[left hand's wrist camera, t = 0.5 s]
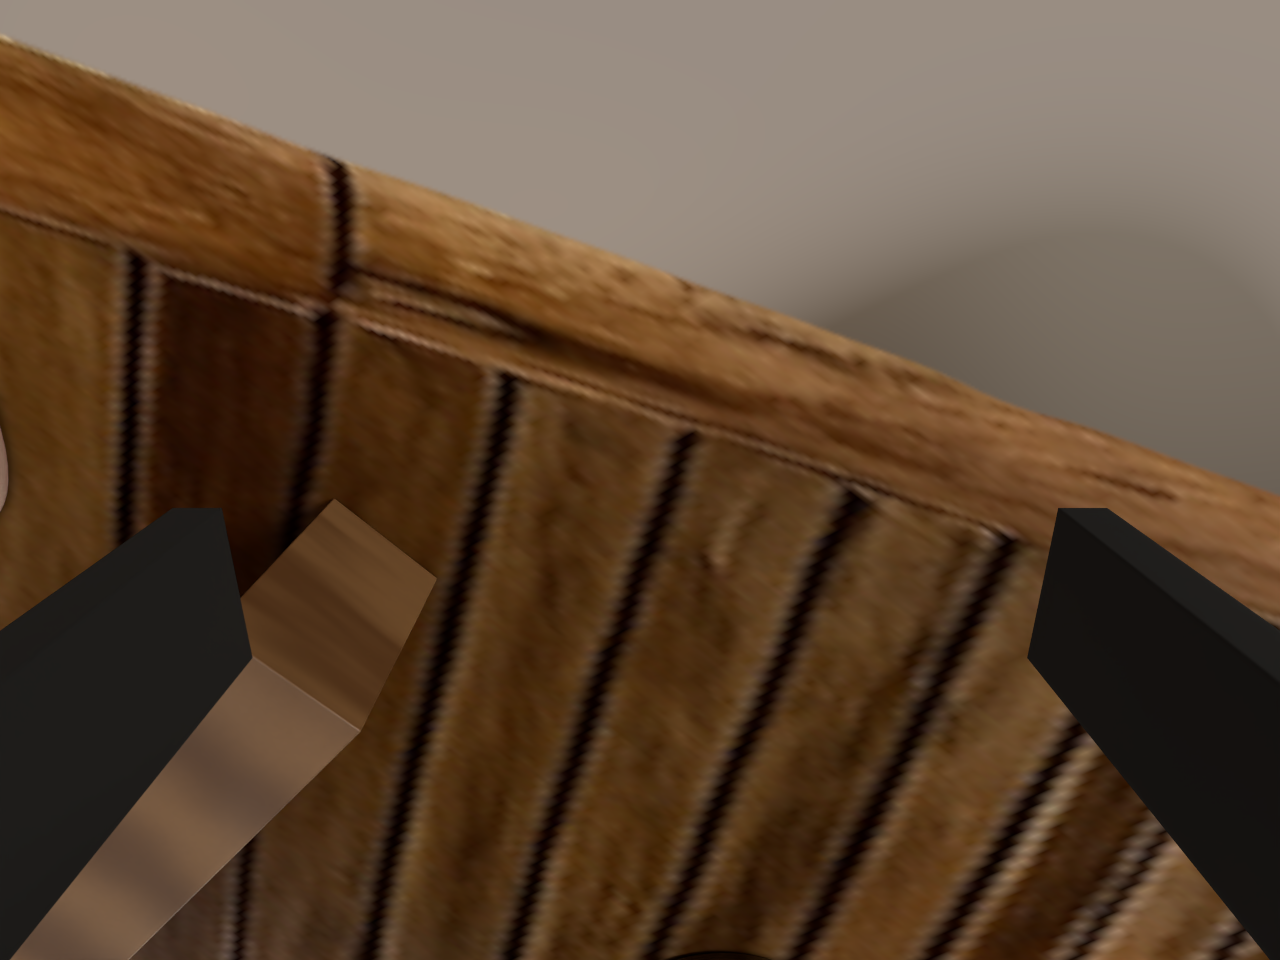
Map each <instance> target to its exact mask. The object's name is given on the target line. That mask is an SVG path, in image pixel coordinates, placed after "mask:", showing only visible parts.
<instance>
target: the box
mask: <svg viewBox="0 0 1280 960" xmlns="http://www.w3.org/2000/svg"><path fill="white" fill-rule="evenodd" d="M436 580H437V578H436V577H435V576H433V575H432V574H431V573H429V572H428V571H427V570H426V569H424V568H423V567H422V566H420V565H419V564H418V563H417V562H415V561H414V560H413V559H411V558H410V557H409V556H408V555H406V554H405V553H404V552H402V551H401V550H400V549H399V548H397V547H396V546H395V545H393V544H392V543H391V542H390V541H388V540H387V539H386V538H384V537H383V536H382V535H381V534H379V533H378V532H377V531H376V530H374V529H373V528H372V527H370V526H369V525H368V524H367V523H365V522H364V521H363V520H361V519H360V518H359V517H358V516H356V515H355V514H354V513H352V512H351V511H350V510H349V509H347V508H346V507H345V506H343V505H342V504H341V503H340V502H338V501H337V500H336V499H333V500H332V501H331V502H330V503H329V504H328V505H327V506H326V507H325V508H324V509H323V510H322V512H321V513H320V514H319V515H318V516H317V517H316V518H315V519H314V520H313V521H312V522H311V523H310V524H309V525H308V526H307V527H306V529H305V530H304V531H303V532H302V533H301V534H300V535H299V536H298V537H297V538H296V539H295V540H294V541H293V542H292V543H291V544H290V546H289V547H288V548H287V549H286V550H285V551H284V552H283V553H282V554H281V555H280V556H279V557H278V558H277V559H276V560H275V561H274V563H273V564H272V565H271V566H270V567H269V568H268V569H267V570H266V571H265V572H264V573H263V574H262V575H261V576H260V577H259V578H258V580H257V581H256V582H255V583H254V584H253V585H252V586H251V587H250V588H249V589H248V590H247V591H246V592H245V593H244V594H243V595H242V597H241V598H240V599H241V604H242V609H243V614H244V618H245V623H246V628H247V633H248V638H249V643H250V647H251V652H252V657H253V658H252V659H251V661H250V662H249V663H248V664H247V666H246V667H245V668H244V669H243V671H242V672H241V673H240V674H239V676H238V677H237V678H236V679H235V680H234V682H233V683H232V684H231V685H230V687H229V688H228V689H227V690H226V692H225V693H224V694H223V695H222V697H221V698H220V699H219V700H218V702H217V703H216V704H215V705H214V707H213V708H212V709H211V710H210V712H209V713H208V714H207V715H206V717H205V718H204V719H203V720H202V722H201V723H200V724H199V725H198V727H197V728H196V729H195V730H194V731H193V733H192V734H191V735H190V736H189V738H188V739H187V740H186V741H185V743H184V744H183V745H182V746H181V748H180V749H179V750H178V751H177V753H176V754H175V755H174V756H173V758H172V759H171V760H170V761H169V763H168V764H167V765H166V766H165V768H164V769H163V770H162V771H161V773H160V774H159V775H158V776H157V778H156V779H155V780H154V781H153V783H152V784H151V785H150V786H149V787H148V789H147V790H146V791H145V792H144V794H143V795H142V796H141V797H140V799H139V800H138V801H137V802H136V804H135V805H134V806H133V807H132V809H131V810H130V811H129V812H128V814H127V815H126V816H125V817H124V819H123V820H122V821H121V822H120V824H119V825H118V826H117V827H116V829H115V830H114V831H113V832H112V834H111V835H110V836H109V837H108V838H107V840H106V841H105V842H104V843H103V845H102V846H101V847H100V848H99V850H98V851H97V852H96V853H95V855H94V856H93V857H92V858H91V860H90V861H89V862H88V863H87V865H86V866H85V867H84V868H83V870H82V871H81V872H80V873H79V875H78V876H77V877H76V878H75V880H74V881H73V882H72V883H71V885H70V886H69V887H68V888H67V889H66V891H65V892H64V893H63V894H62V896H61V897H60V898H59V899H58V901H57V902H56V903H55V904H54V906H53V907H52V908H51V909H50V911H49V912H48V913H47V914H46V916H45V917H44V918H43V919H42V921H41V922H40V923H39V924H38V926H37V927H36V928H35V929H34V931H33V932H32V933H31V934H30V936H29V937H28V938H27V939H26V940H25V942H24V943H23V944H22V945H21V947H20V948H19V949H18V950H17V952H16V953H15V954H14V955H13V957H12V958H11V959H10V960H129V959H130V958H131V957H132V956H133V955H134V954H135V953H136V952H137V951H138V950H139V949H140V948H141V947H142V946H143V945H144V944H145V943H146V942H147V941H148V940H149V939H150V938H151V937H152V936H154V935H155V934H156V933H157V932H158V931H159V930H160V929H161V928H162V927H163V926H164V925H165V924H166V923H167V922H168V921H169V920H170V919H171V918H172V917H173V916H174V915H175V914H176V913H177V912H178V911H179V910H180V909H181V908H182V907H183V906H184V905H185V904H186V903H187V902H188V901H189V900H190V899H191V898H192V897H193V896H194V895H195V894H196V893H197V892H198V891H199V890H200V889H201V888H202V887H203V886H204V885H205V884H206V883H207V882H208V881H209V880H210V879H211V878H212V877H213V876H214V875H216V874H217V873H218V872H219V871H220V870H221V869H222V868H223V867H224V866H225V865H226V864H227V863H228V862H229V861H230V860H231V859H232V858H233V857H234V856H235V855H236V854H237V853H238V852H239V851H240V850H241V849H242V848H243V847H244V846H245V845H246V844H247V843H248V842H249V841H250V840H251V839H252V838H253V837H254V836H255V835H256V834H257V833H258V832H259V831H260V830H261V829H262V828H263V827H264V826H265V825H266V824H267V823H268V822H269V821H270V820H271V819H272V818H273V817H274V816H275V815H277V814H278V813H279V812H280V811H281V810H282V809H283V808H284V807H285V806H286V805H287V804H288V803H289V802H290V801H291V800H292V799H293V798H294V797H295V796H296V795H297V794H298V793H299V792H300V791H301V790H302V789H303V788H304V787H305V786H306V785H307V784H308V783H309V782H310V781H311V780H312V779H313V778H314V777H315V776H316V775H317V774H318V773H319V772H320V771H321V770H322V769H323V768H324V767H325V766H326V765H327V764H328V763H329V762H330V761H331V760H332V759H333V758H334V757H335V756H336V755H338V754H339V753H340V752H341V751H342V750H343V749H344V748H345V747H346V746H347V745H348V744H349V743H350V742H351V741H352V740H353V739H354V738H355V737H356V736H357V735H358V734H359V733H360V732H361V730H362V728H363V726H364V724H365V722H366V720H367V718H368V716H369V714H370V712H371V710H372V708H373V706H374V704H375V702H376V700H377V698H378V696H379V694H380V692H381V690H382V688H383V686H384V684H385V682H386V680H387V678H388V676H389V674H390V672H391V670H392V668H393V666H394V664H395V662H396V660H397V658H398V656H399V654H400V652H401V650H402V648H403V646H404V644H405V642H406V640H407V638H408V636H409V634H410V632H411V630H412V628H413V626H414V624H415V622H416V620H417V618H418V616H419V614H420V612H421V610H422V608H423V606H424V604H425V602H426V600H427V598H428V596H429V594H430V592H431V590H432V588H433V586H434V584H435V582H436Z"/></svg>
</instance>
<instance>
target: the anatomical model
mask: <svg viewBox="0 0 1280 960" xmlns="http://www.w3.org/2000/svg"><path fill="white" fill-rule="evenodd" d="M7 491H8V462H7V455H6V448H5V444H4V440H3V436H2V432H1V427H0V511H1V509H2V507H3V505H4V503H5V499H6V496H7Z"/></svg>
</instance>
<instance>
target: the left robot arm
mask: <svg viewBox="0 0 1280 960" xmlns="http://www.w3.org/2000/svg"><path fill="white" fill-rule="evenodd" d="M252 658H253V657H252V652H251V647H250V643H249V638H248V633H247V628H246V623H245V618H244V614H243V609H242V604H241V599H240V594H239V590H238V585H237V580H236V575H235V570H234V565H233V561H232V556H231V551H230V546H229V541H228V536H227V532H226V527H225V522H224V517H223V512H222V508H172V509H171V510H169V511H168V512H167V513H165V514H164V515H162V516H161V517H160V518H158V519H157V520H155V521H154V522H153V523H151V524H150V525H148V526H147V527H146V528H144V529H143V530H141V531H140V532H139V533H137V534H136V535H134V536H133V537H131V538H130V539H129V540H127V541H126V542H124V543H123V544H122V545H120V546H119V547H117V548H116V549H115V550H113V551H112V552H110V553H109V554H108V555H106V556H105V557H103V558H102V559H101V560H99V561H98V562H96V563H95V564H94V565H92V566H91V567H89V568H88V569H86V570H85V571H84V572H82V573H81V574H79V575H78V576H77V577H75V578H74V579H72V580H71V581H70V582H68V583H67V584H65V585H64V586H63V587H61V588H60V589H58V590H57V591H56V592H54V593H53V594H51V595H50V596H48V597H47V598H46V599H44V600H43V601H41V602H40V603H39V604H37V605H36V606H34V607H33V608H32V609H30V610H29V611H27V612H26V613H25V614H23V615H22V616H20V617H19V618H18V619H16V620H15V621H13V622H12V623H11V624H9V625H8V626H6V627H5V628H3V629H2V630H1V631H0V960H10V959H11V958H12V957H13V955H14V954H15V953H16V952H17V950H18V949H19V948H20V947H21V945H22V944H23V943H24V942H25V940H26V939H27V938H28V937H29V936H30V934H31V933H32V932H33V931H34V929H35V928H36V927H37V926H38V924H39V923H40V922H41V921H42V919H43V918H44V917H45V916H46V914H47V913H48V912H49V911H50V909H51V908H52V907H53V906H54V904H55V903H56V902H57V901H58V899H59V898H60V897H61V896H62V894H63V893H64V892H65V891H66V889H67V888H68V887H69V886H70V885H71V883H72V882H73V881H74V880H75V878H76V877H77V876H78V875H79V873H80V872H81V871H82V870H83V868H84V867H85V866H86V865H87V863H88V862H89V861H90V860H91V858H92V857H93V856H94V855H95V853H96V852H97V851H98V850H99V848H100V847H101V846H102V845H103V843H104V842H105V841H106V840H107V838H108V837H109V836H110V835H111V834H112V832H113V831H114V830H115V829H116V827H117V826H118V825H119V824H120V822H121V821H122V820H123V819H124V817H125V816H126V815H127V814H128V812H129V811H130V810H131V809H132V807H133V806H134V805H135V804H136V802H137V801H138V800H139V799H140V797H141V796H142V795H143V794H144V792H145V791H146V790H147V789H148V787H149V786H150V785H151V784H152V783H153V781H154V780H155V779H156V778H157V776H158V775H159V774H160V773H161V771H162V770H163V769H164V768H165V766H166V765H167V764H168V763H169V761H170V760H171V759H172V758H173V756H174V755H175V754H176V753H177V751H178V750H179V749H180V748H181V746H182V745H183V744H184V743H185V741H186V740H187V739H188V738H189V736H190V735H191V734H192V733H193V731H194V730H195V729H196V728H197V727H198V725H199V724H200V723H201V722H202V720H203V719H204V718H205V717H206V715H207V714H208V713H209V712H210V710H211V709H212V708H213V707H214V705H215V704H216V703H217V702H218V700H219V699H220V698H221V697H222V695H223V694H224V693H225V692H226V690H227V689H228V688H229V687H230V685H231V684H232V683H233V682H234V680H235V679H236V678H237V677H238V676H239V674H240V673H241V672H242V671H243V669H244V668H245V667H246V666H247V664H248V663H249V662H250V661H251V659H252ZM1027 658H1028V659H1029V661H1030V662H1031V663H1032V664H1033V666H1034V667H1035V668H1036V669H1037V671H1038V672H1039V673H1040V674H1041V676H1042V677H1043V678H1044V679H1045V680H1046V682H1047V683H1048V684H1049V685H1050V687H1051V688H1052V689H1053V690H1054V692H1055V693H1056V694H1057V695H1058V697H1059V698H1060V699H1061V700H1062V702H1063V703H1064V704H1065V705H1066V707H1067V708H1068V709H1069V710H1070V712H1071V713H1072V714H1073V715H1074V717H1075V718H1076V719H1077V720H1078V722H1079V723H1080V724H1081V725H1082V727H1083V728H1084V729H1085V730H1086V732H1087V733H1088V734H1089V735H1090V736H1091V738H1092V739H1093V740H1094V741H1095V743H1096V744H1097V745H1098V746H1099V748H1100V749H1101V750H1102V751H1103V753H1104V754H1105V755H1106V756H1107V758H1108V759H1109V760H1110V761H1111V763H1112V764H1113V765H1114V766H1115V768H1116V769H1117V770H1118V771H1119V773H1120V774H1121V775H1122V776H1123V778H1124V779H1125V780H1126V781H1127V783H1128V784H1129V785H1130V786H1131V787H1132V789H1133V790H1134V791H1135V792H1136V794H1137V795H1138V796H1139V797H1140V799H1141V800H1142V801H1143V802H1144V804H1145V805H1146V806H1147V807H1148V809H1149V810H1150V811H1151V812H1152V814H1153V815H1154V816H1155V817H1156V819H1157V820H1158V821H1159V822H1160V824H1161V825H1162V826H1163V827H1164V829H1165V830H1166V831H1167V832H1168V834H1169V835H1170V836H1171V837H1172V838H1173V840H1174V841H1175V842H1176V843H1177V845H1178V846H1179V847H1180V848H1181V850H1182V851H1183V852H1184V853H1185V855H1186V856H1187V857H1188V858H1189V860H1190V861H1191V862H1192V863H1193V865H1194V866H1195V867H1196V868H1197V870H1198V871H1199V872H1200V873H1201V875H1202V876H1203V877H1204V878H1205V880H1206V881H1207V882H1208V883H1209V885H1210V886H1211V887H1212V888H1213V889H1214V891H1215V892H1216V893H1217V894H1218V896H1219V897H1220V898H1221V899H1222V901H1223V902H1224V903H1225V904H1226V906H1227V907H1228V908H1229V909H1230V911H1231V912H1232V913H1233V914H1234V916H1235V917H1236V918H1237V919H1238V921H1239V922H1240V923H1241V924H1242V926H1243V927H1244V928H1245V929H1246V931H1247V932H1248V933H1249V934H1250V936H1251V937H1252V938H1253V939H1254V941H1255V942H1256V943H1257V944H1258V945H1259V947H1260V948H1261V949H1262V950H1263V952H1264V953H1265V954H1266V955H1267V957H1268V958H1269V959H1270V960H1280V631H1279V630H1278V629H1277V628H1275V627H1274V626H1272V625H1271V624H1269V623H1268V622H1267V621H1265V620H1264V619H1262V618H1261V617H1260V616H1258V615H1257V614H1255V613H1254V612H1253V611H1251V610H1250V609H1248V608H1247V607H1246V606H1244V605H1243V604H1241V603H1240V602H1239V601H1237V600H1236V599H1234V598H1233V597H1232V596H1230V595H1229V594H1227V593H1226V592H1224V591H1223V590H1222V589H1220V588H1219V587H1217V586H1216V585H1215V584H1213V583H1212V582H1210V581H1209V580H1208V579H1206V578H1205V577H1203V576H1202V575H1201V574H1199V573H1198V572H1196V571H1195V570H1194V569H1192V568H1191V567H1189V566H1188V565H1186V564H1185V563H1184V562H1182V561H1181V560H1179V559H1178V558H1177V557H1175V556H1174V555H1172V554H1171V553H1170V552H1168V551H1167V550H1165V549H1164V548H1163V547H1161V546H1160V545H1158V544H1157V543H1156V542H1154V541H1153V540H1151V539H1150V538H1149V537H1147V536H1146V535H1144V534H1143V533H1141V532H1140V531H1139V530H1137V529H1136V528H1134V527H1133V526H1132V525H1130V524H1129V523H1127V522H1126V521H1125V520H1123V519H1122V518H1120V517H1119V516H1118V515H1116V514H1115V513H1113V512H1112V511H1111V510H1109V509H1108V508H1058V512H1057V517H1056V522H1055V527H1054V532H1053V536H1052V541H1051V546H1050V551H1049V556H1048V561H1047V565H1046V570H1045V575H1044V580H1043V585H1042V589H1041V594H1040V599H1039V604H1038V609H1037V614H1036V618H1035V623H1034V628H1033V633H1032V638H1031V643H1030V647H1029V652H1028V657H1027ZM677 960H770V959H766V958H763V957H758V956H753V955H747V954H738V953H710V954H701V955H694V956H689V957H685V958H681V959H677Z"/></svg>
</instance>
